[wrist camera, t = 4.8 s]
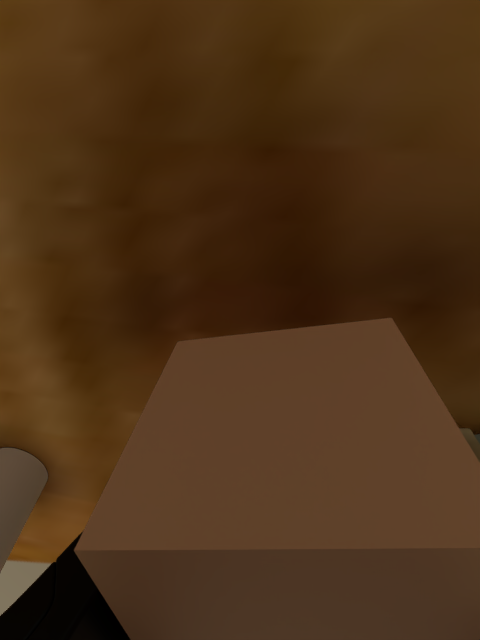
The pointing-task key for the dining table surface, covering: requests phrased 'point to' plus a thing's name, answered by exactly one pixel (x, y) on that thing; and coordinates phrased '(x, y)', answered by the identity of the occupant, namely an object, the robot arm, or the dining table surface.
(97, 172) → the dining table surface
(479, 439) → the slate block
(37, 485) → the smoothie
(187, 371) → the terracotta block
